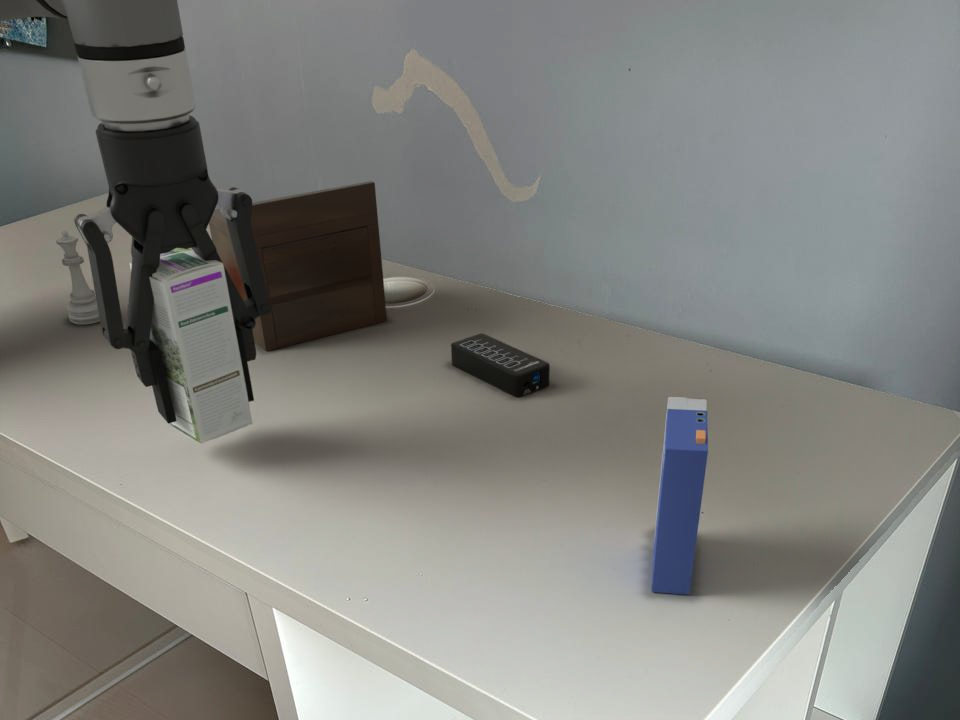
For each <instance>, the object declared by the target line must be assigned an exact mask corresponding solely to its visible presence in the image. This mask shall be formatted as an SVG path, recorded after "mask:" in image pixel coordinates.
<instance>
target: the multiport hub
mask: <svg viewBox="0 0 960 720" xmlns="http://www.w3.org/2000/svg"><path fill="white" fill-rule="evenodd" d="M450 352H451V366H452V367H455V368H456V369H458V370H460V371H463V372H465V373H466V374H468V375H471V376H473V377H475V378H477V379H478V380H481V381H483V382H485V383H487V384H489V385H491V386H493V387H495V388H496V389H498V390H501V391H503V392H505V393H506V394H508V395H510V396H512V397H514V398H522V397H524V396H527V395H530V394H532V393H534V392H537V391H540V390H543V389H545V388H548V387H550V370H551V369H550V367H551V366H550V362H547V361H545V360H543V359H541V358H539V357H537V356H535V355H532V354H529V353H528V352H525V351H523V350H521V349H518V348H517V347H515V346H512V345H510V344H507V343H505V342H504V341H501V340H499V339H497V338H494V337H492V336H491V335H488V334H486V333H477V334H474V335H472V336H469V337H465V338H463V339H459V340H456V341H454V342H452V343H450Z"/></svg>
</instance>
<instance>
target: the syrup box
mask: <svg viewBox="0 0 960 720" xmlns="http://www.w3.org/2000/svg"><path fill="white" fill-rule="evenodd" d="M129 268H130V270H131V268H132V262H129ZM149 279H150V283H151V288H152V292H153V296H154V302H153V312H152V322H151V331H150V339H151V341H152V342H153V343H154V344H155V345H156V346H157V347H158V348H159V349H160V352H161V357H162V361H163V365H164V369H165V374H166V378H167V382H168V387H169V391H170V395H171V399H172V404H173V408H174V412H175V416H176V422H172V423H167V424H168V425H170V426H171V427H173V428H174V429H176V430H178V431H179V432H182V434H184V435H186V436H188V437H189V438H191V439H193V440H194V441H196V442H198V443H200V444H204V443H206V442H209V441H213V440H215V439H218V438H220V437H223V436H227V435H229V434H230V433H234V432H236V431H238V430H241V429H243V428H246V427H248V426H249V425H253V418H252V412H251V407H250V402H249V401H248V396H247V390H246V384H245V379H244V373H243V368H242V362H241V357H240V352H239V346H238V341H237V336H236V330H235V325H234V320H233V314H232V308H231V303H230V298H229V292H228V286H227V281H226V276H225V271H224V265H223V263H221V262H219V261H216V260H210V261H205V260H203V259H202V258H201V257H199V256H198V255H197V254H195V252H194V250H193V249H191V248H188V249H184V248H176V249H173V250H171V251H170V252H167V253H162V254H160V263H159V267H158V268H157V272H156V273H153V274H152V277H149Z"/></svg>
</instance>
